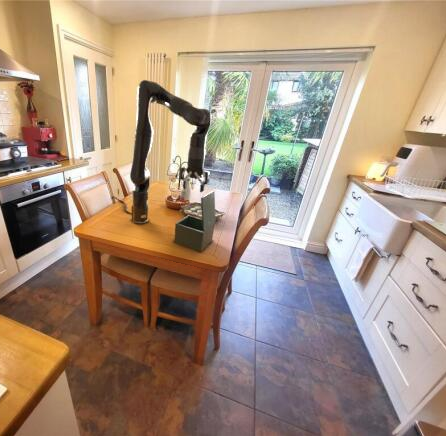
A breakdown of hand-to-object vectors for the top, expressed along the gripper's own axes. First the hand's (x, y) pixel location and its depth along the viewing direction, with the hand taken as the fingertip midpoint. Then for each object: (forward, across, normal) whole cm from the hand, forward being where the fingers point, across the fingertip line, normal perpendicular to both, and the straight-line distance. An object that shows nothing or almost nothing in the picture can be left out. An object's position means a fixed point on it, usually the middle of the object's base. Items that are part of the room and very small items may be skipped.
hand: (193, 190), depth 114 cm
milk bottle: (+28, +24, -46) cm, 59 cm away
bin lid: (+9, -9, +1) cm, 12 cm away
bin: (+28, -3, 0) cm, 28 cm away
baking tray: (+28, +6, -34) cm, 44 cm away
